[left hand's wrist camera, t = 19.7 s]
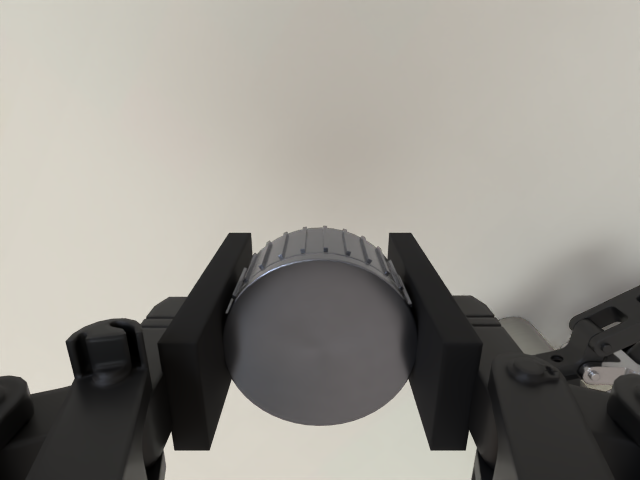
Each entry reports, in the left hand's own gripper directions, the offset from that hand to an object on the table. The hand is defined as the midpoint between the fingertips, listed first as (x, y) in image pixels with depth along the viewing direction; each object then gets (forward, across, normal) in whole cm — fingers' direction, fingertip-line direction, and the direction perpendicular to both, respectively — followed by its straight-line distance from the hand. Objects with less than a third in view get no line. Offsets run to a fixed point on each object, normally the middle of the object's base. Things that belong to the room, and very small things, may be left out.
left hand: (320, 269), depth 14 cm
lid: (-4, 0, 0) cm, 4 cm away
